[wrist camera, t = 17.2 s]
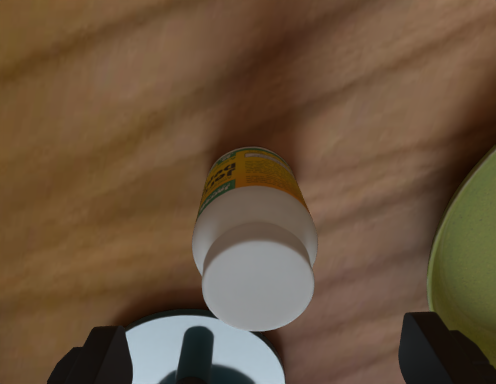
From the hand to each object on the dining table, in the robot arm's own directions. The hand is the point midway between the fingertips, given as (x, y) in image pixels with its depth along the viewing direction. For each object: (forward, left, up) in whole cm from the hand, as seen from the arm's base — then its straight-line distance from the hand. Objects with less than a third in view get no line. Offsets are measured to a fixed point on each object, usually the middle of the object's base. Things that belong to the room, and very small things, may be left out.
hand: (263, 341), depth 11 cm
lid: (-5, -15, -11) cm, 20 cm away
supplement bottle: (0, 0, -12) cm, 12 cm away
